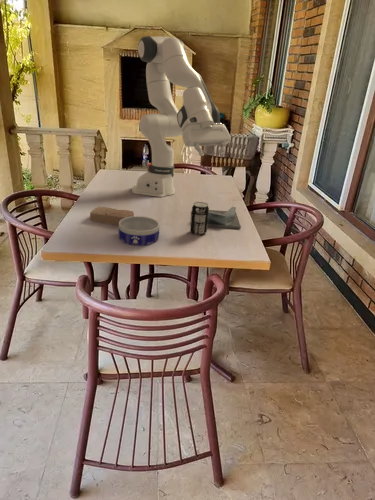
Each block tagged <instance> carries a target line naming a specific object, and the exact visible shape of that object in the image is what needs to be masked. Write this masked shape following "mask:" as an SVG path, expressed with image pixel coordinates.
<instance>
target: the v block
mask: <svg viewBox="0 0 375 500" xmlns="http://www.w3.org/2000/svg"><path fill="white" fill-rule="evenodd" d="M236 210H237V207H235V206H231V208H229V209H228V210H217V209H216V210H214V209H209V213H208V223H207V228H216V229H217V228H218V229H219V228H220V229H236V230H240V229H241V228H242V226H241V223H240V220H239V218H238V214H237V211H236ZM241 230H242V229H241Z"/></svg>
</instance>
